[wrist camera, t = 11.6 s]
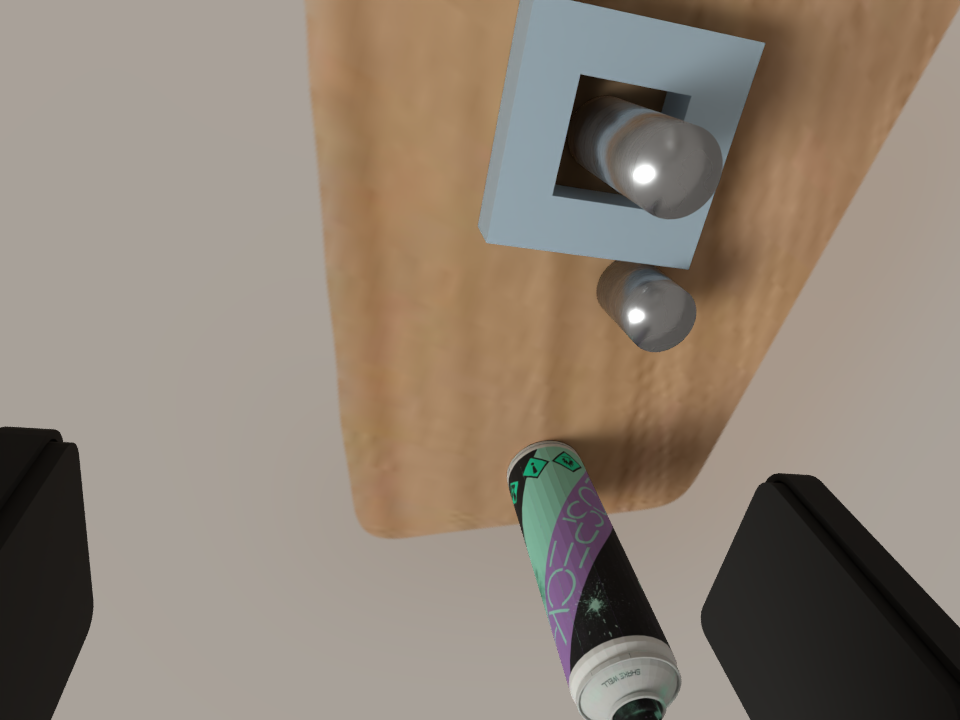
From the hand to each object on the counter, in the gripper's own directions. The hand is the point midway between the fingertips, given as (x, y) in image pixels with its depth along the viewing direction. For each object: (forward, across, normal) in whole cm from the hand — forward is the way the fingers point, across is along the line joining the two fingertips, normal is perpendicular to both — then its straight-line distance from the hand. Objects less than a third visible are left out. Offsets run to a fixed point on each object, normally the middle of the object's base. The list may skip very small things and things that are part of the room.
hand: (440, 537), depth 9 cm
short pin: (+30, -16, +6) cm, 35 cm away
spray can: (+31, -14, +21) cm, 40 cm away
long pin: (+30, -12, -2) cm, 33 cm away
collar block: (+30, -12, -2) cm, 33 cm away
